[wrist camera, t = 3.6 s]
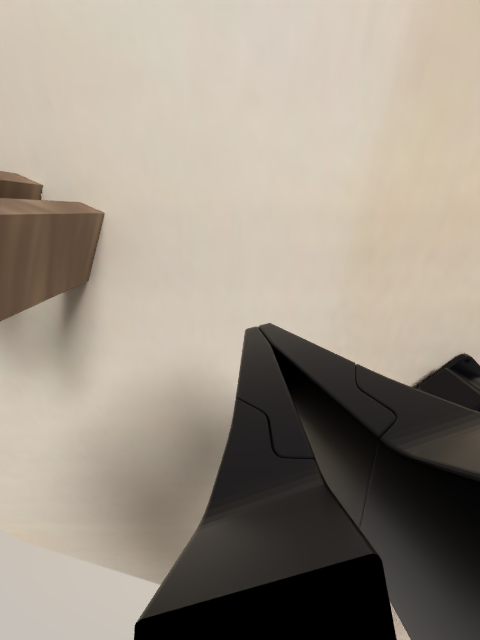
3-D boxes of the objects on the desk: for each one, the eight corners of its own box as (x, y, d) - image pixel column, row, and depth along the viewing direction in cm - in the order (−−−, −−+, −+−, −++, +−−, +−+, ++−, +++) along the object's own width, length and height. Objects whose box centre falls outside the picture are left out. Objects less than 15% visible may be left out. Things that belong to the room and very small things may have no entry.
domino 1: (104, 213, 18) (-43, 214, 8) (88, 280, 19) (-49, 343, 10) (80, 202, 18) (-98, 192, 8) (65, 271, 19) (-96, 328, 10)
